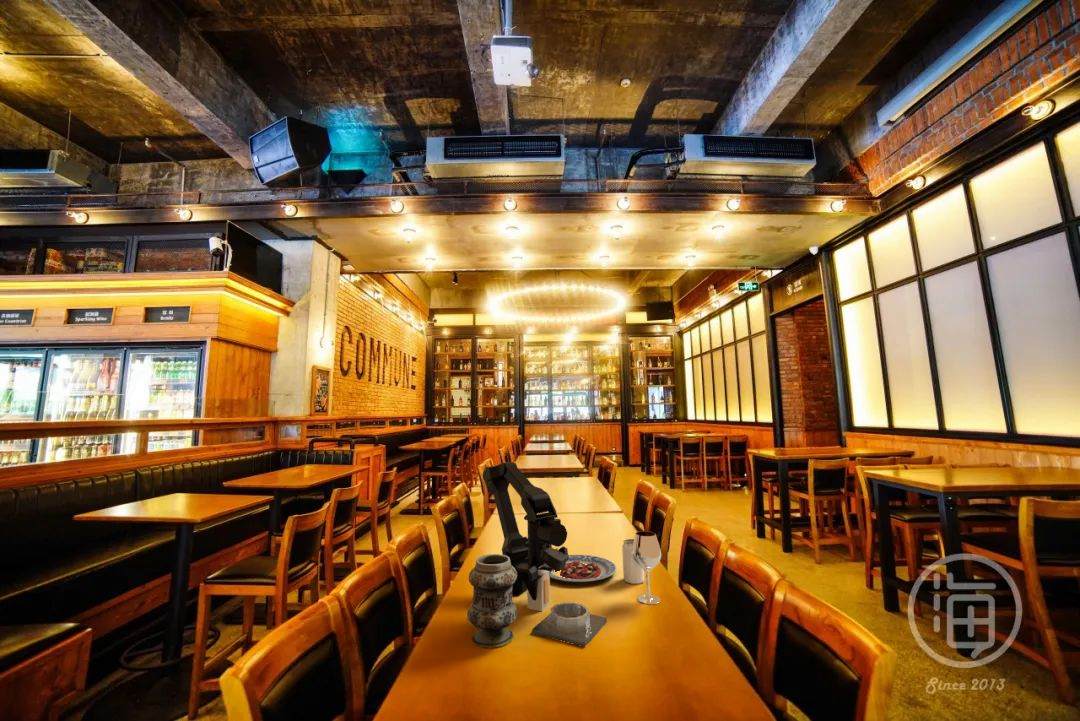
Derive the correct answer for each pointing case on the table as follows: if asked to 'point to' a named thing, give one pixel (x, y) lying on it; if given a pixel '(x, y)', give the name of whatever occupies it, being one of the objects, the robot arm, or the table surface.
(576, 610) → the duct collar
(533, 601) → the white block
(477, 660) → the table surface
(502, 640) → the apothecary jar
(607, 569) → the ceramic plate
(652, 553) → the wineglass
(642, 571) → the can
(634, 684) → the table surface
